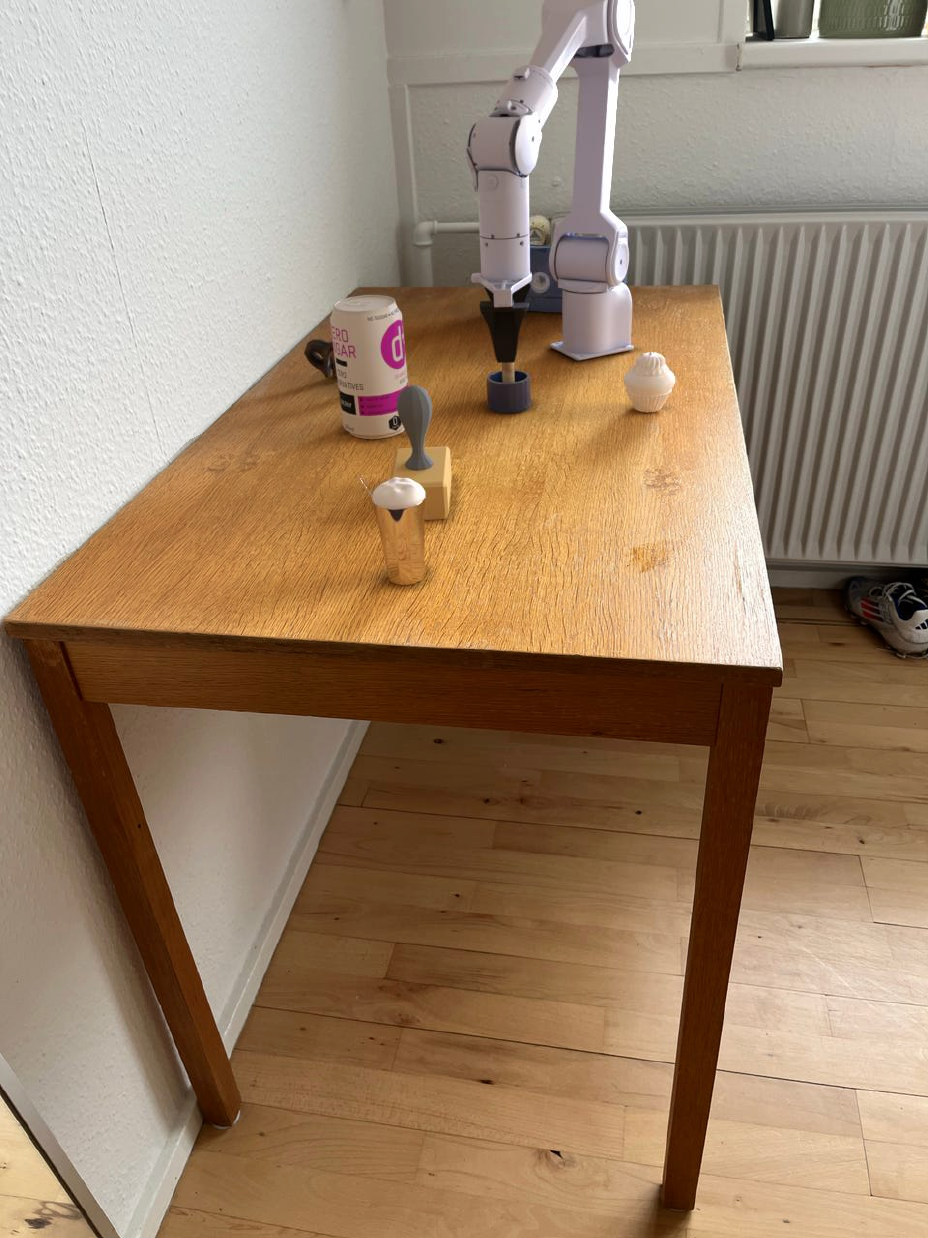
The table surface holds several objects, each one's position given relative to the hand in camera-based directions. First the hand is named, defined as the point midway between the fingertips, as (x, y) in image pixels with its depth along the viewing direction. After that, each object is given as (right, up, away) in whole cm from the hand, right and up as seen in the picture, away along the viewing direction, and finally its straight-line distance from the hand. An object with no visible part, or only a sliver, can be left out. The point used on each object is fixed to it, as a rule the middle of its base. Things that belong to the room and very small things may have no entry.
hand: (507, 351), depth 116 cm
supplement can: (-16, -10, 0) cm, 18 cm away
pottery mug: (-21, 0, +15) cm, 25 cm away
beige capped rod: (0, -5, +4) cm, 6 cm away
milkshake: (-11, -29, -31) cm, 44 cm away
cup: (0, -6, +4) cm, 7 cm away
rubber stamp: (-10, -20, -17) cm, 28 cm away
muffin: (+17, -7, +1) cm, 19 cm away
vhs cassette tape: (+12, +18, +39) cm, 45 cm away
